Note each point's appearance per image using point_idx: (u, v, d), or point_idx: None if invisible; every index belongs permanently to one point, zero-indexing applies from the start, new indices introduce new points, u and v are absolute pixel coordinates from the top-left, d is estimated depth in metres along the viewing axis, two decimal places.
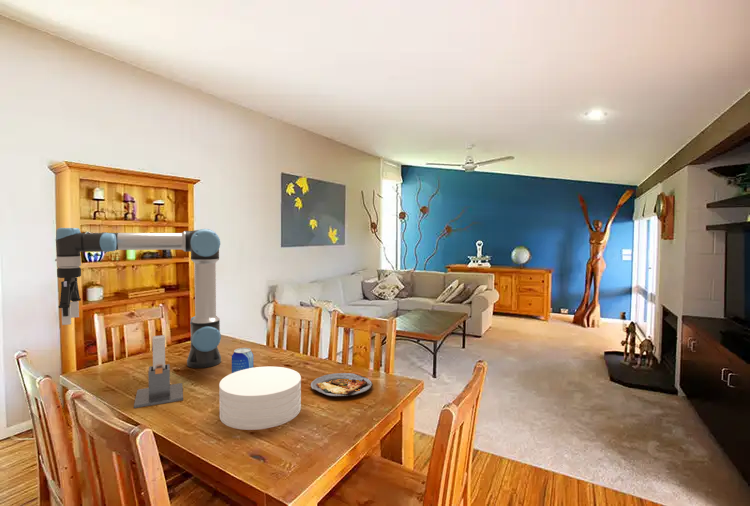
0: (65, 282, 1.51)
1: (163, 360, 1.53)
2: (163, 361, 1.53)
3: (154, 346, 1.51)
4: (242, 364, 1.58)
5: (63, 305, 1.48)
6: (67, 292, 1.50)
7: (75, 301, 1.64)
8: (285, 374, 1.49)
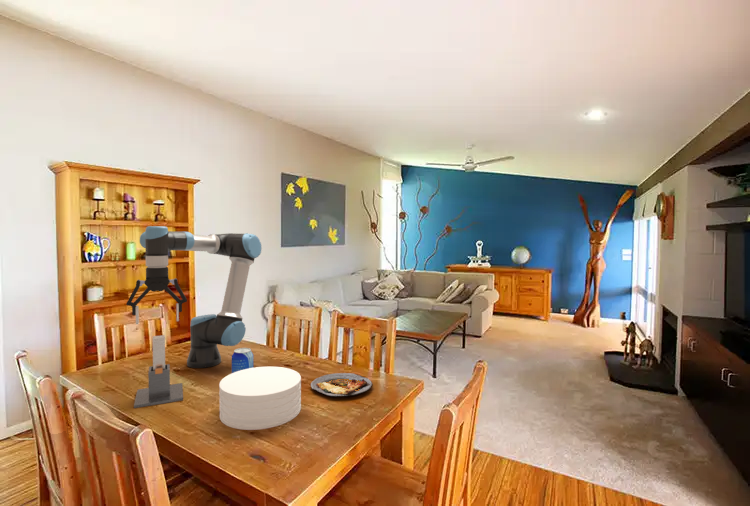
0: (137, 281, 1.49)
1: (163, 360, 1.53)
2: (163, 361, 1.53)
3: (154, 346, 1.51)
4: (242, 364, 1.58)
5: None
6: (133, 291, 1.48)
7: (177, 304, 1.56)
8: (285, 374, 1.49)
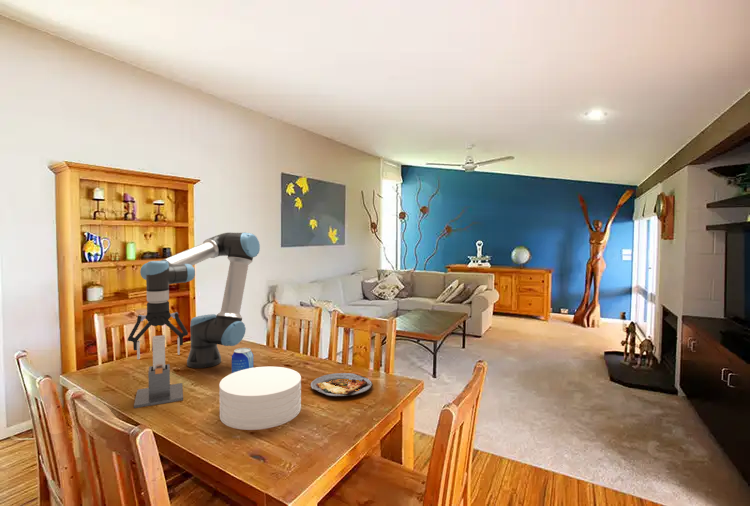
0: (138, 316, 1.50)
1: (163, 360, 1.53)
2: (163, 361, 1.53)
3: (154, 346, 1.51)
4: (242, 364, 1.58)
5: None
6: (134, 326, 1.49)
7: (178, 337, 1.56)
8: (285, 374, 1.49)
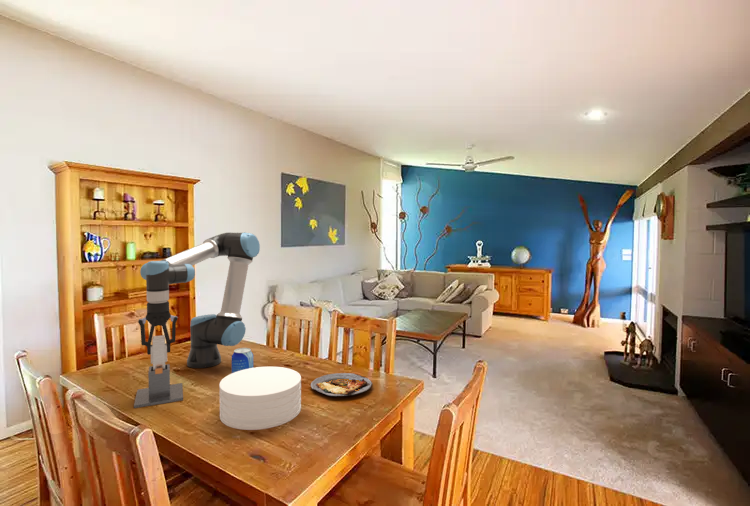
0: (138, 321, 1.50)
1: (163, 360, 1.53)
2: (163, 361, 1.53)
3: (154, 346, 1.51)
4: (242, 364, 1.58)
5: None
6: None
7: (165, 344, 1.55)
8: (285, 374, 1.49)
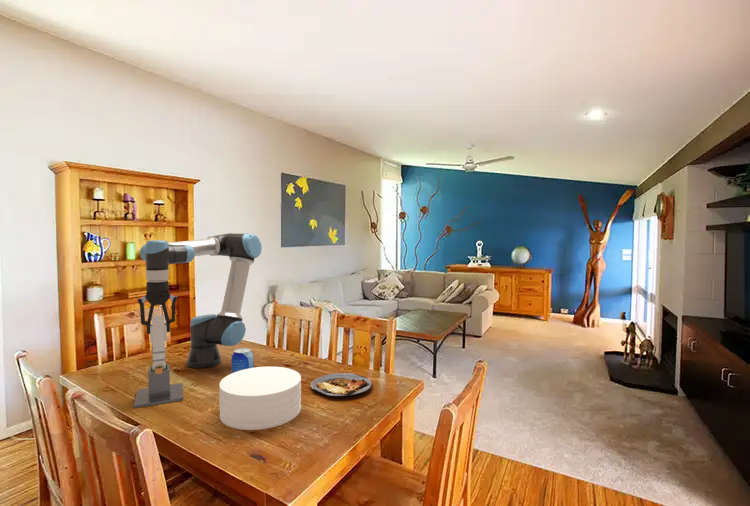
0: (138, 300, 1.50)
1: (163, 340, 1.53)
2: (163, 341, 1.53)
3: (154, 325, 1.51)
4: (242, 364, 1.58)
5: None
6: (140, 310, 1.50)
7: (165, 324, 1.54)
8: (285, 374, 1.49)
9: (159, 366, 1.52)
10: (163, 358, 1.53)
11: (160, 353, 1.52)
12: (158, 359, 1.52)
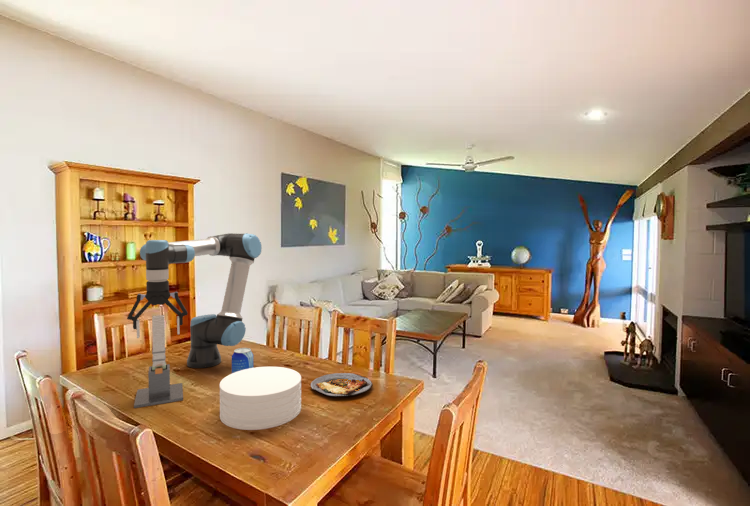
0: (137, 295, 1.50)
1: (163, 339, 1.53)
2: (163, 340, 1.53)
3: (154, 325, 1.51)
4: (242, 364, 1.58)
5: None
6: None
7: (178, 317, 1.56)
8: (285, 374, 1.49)
9: (159, 366, 1.52)
10: (163, 358, 1.53)
11: (160, 353, 1.52)
12: (158, 359, 1.52)
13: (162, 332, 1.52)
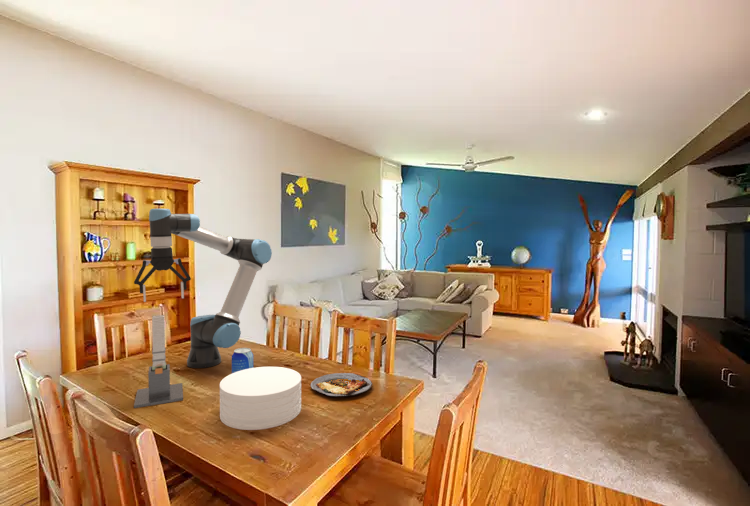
0: (143, 261, 1.58)
1: (163, 339, 1.53)
2: (163, 340, 1.53)
3: (154, 325, 1.51)
4: (242, 364, 1.58)
5: (134, 282, 1.57)
6: None
7: (182, 282, 1.65)
8: (285, 374, 1.49)
9: (159, 366, 1.52)
10: (163, 358, 1.53)
11: (160, 353, 1.52)
12: (158, 359, 1.52)
13: (162, 332, 1.52)
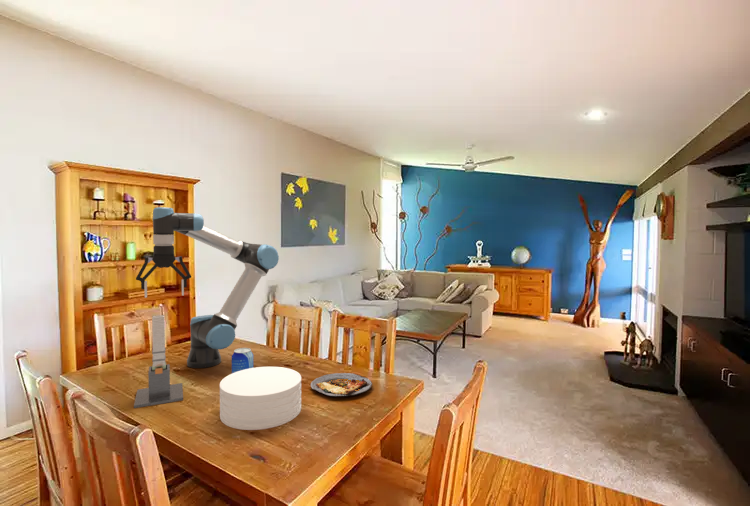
0: (145, 258, 1.62)
1: (163, 339, 1.53)
2: (163, 340, 1.53)
3: (154, 325, 1.51)
4: (242, 364, 1.58)
5: None
6: None
7: (182, 279, 1.69)
8: (285, 374, 1.48)
9: (159, 366, 1.52)
10: (163, 358, 1.53)
11: (160, 353, 1.52)
12: (158, 359, 1.52)
13: (162, 332, 1.52)
